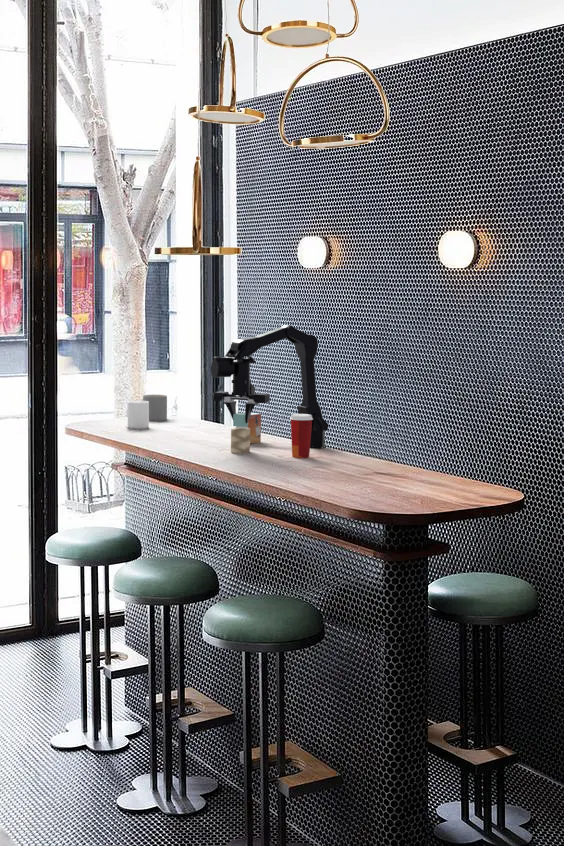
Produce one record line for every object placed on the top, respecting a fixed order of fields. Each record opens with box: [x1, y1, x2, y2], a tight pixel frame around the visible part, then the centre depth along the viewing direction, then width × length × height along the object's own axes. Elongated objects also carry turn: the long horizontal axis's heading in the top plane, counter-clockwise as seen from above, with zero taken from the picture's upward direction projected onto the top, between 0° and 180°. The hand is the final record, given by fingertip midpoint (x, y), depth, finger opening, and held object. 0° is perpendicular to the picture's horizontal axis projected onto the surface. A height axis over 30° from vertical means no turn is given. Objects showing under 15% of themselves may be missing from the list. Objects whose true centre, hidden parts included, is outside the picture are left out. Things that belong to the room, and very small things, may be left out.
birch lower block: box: [230, 440, 251, 454], centre depth 364 cm, size 5×5×4 cm
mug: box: [126, 400, 150, 430], centre depth 424 cm, size 12×8×10 cm
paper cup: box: [289, 413, 313, 459], centre depth 355 cm, size 8×8×14 cm
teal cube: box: [232, 412, 248, 427], centre depth 363 cm, size 4×4×4 cm
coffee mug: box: [140, 394, 168, 422], centre depth 451 cm, size 13×10×10 cm
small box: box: [235, 412, 262, 445], centre depth 386 cm, size 8×6×10 cm
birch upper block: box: [230, 427, 250, 442], centre depth 364 cm, size 5×5×4 cm
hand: (240, 422), depth 363 cm, fingers closed on teal cube, 4 cm apart
